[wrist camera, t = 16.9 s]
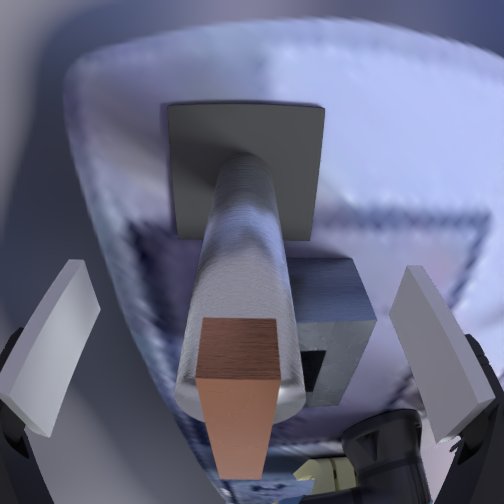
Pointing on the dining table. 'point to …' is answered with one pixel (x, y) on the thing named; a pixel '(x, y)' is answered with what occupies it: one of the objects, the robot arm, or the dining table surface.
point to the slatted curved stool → (328, 474)
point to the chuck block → (329, 324)
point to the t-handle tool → (241, 324)
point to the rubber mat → (245, 141)
